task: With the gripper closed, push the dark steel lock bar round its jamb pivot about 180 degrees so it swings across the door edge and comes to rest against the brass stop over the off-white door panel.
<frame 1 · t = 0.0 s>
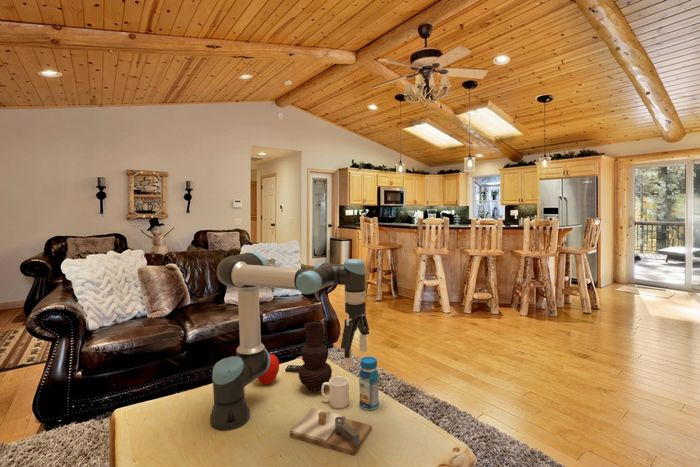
hand: (356, 358, 140), 28 cm above the table, fingers open, 13 cm apart
apple: (267, 382, 181), on the table
door board: (331, 432, 141), on the table
lock bar: (346, 431, 135), point 4 cm above the table, hinge at 0.0°
beverage bottle: (369, 405, 160), on the table
vase: (315, 388, 175), on the table
cup: (335, 403, 162), on the table
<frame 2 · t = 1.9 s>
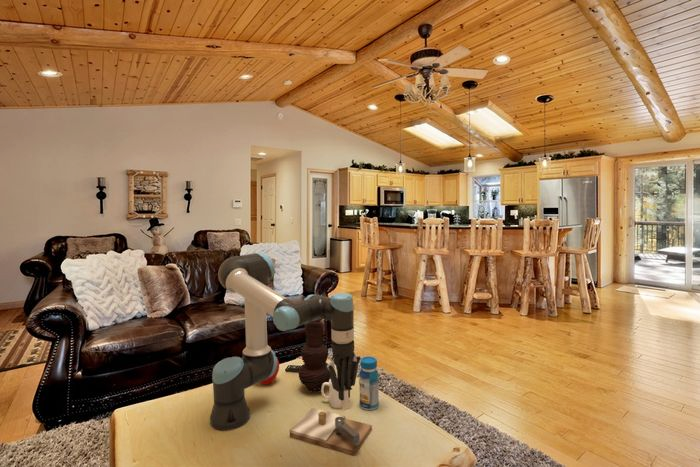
hand: (344, 407, 129), 16 cm above the table, fingers closed
nothing on the table moved.
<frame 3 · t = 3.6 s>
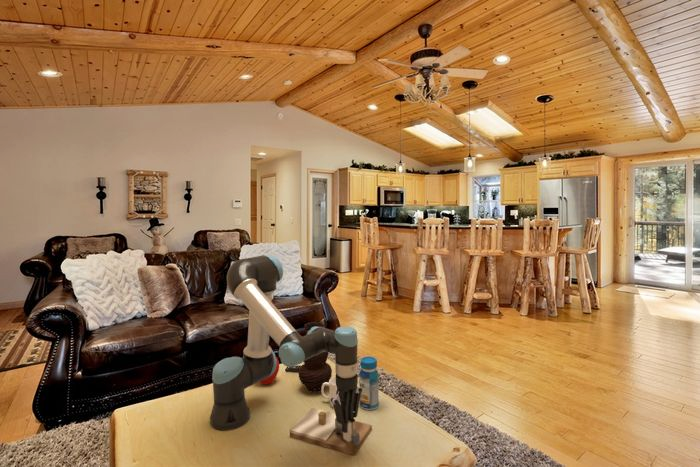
hand: (347, 439, 131), 4 cm above the table, fingers closed
lock bar: (346, 431, 135), point 4 cm above the table, hinge at 0.1°, touching gripper
everything else where it was.
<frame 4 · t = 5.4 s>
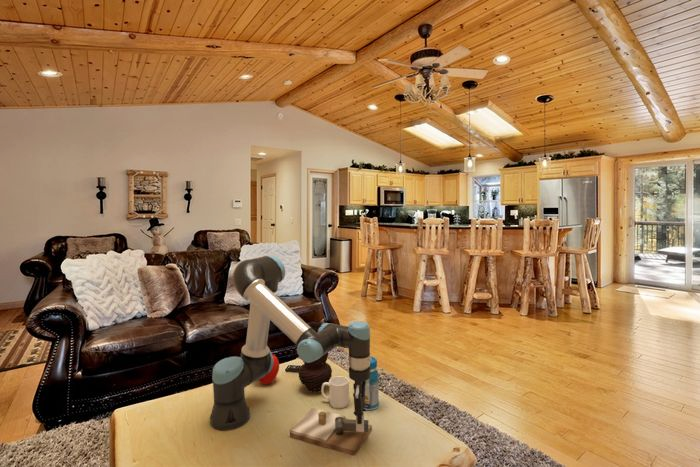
hand: (360, 430, 136), 4 cm above the table, fingers closed
lock bar: (351, 426, 138), point 4 cm above the table, hinge at 49.1°, touching gripper
everything else where it was.
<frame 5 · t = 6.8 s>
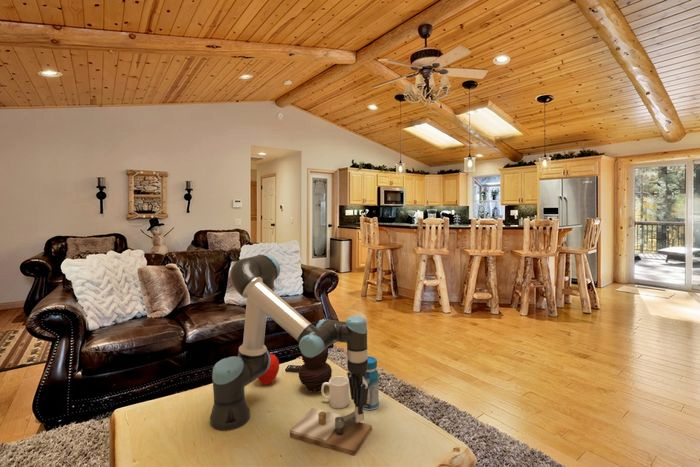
hand: (359, 420, 142), 4 cm above the table, fingers closed
lock bar: (349, 421, 141), point 4 cm above the table, hinge at 92.9°, touching gripper
everything else where it was.
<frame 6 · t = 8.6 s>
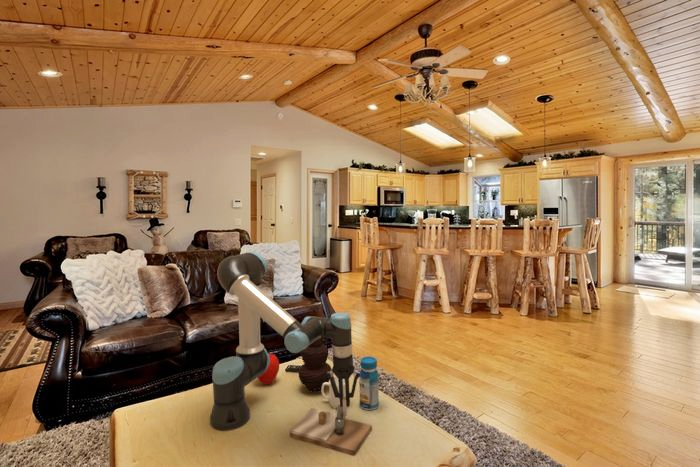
hand: (345, 414, 145), 5 cm above the table, fingers closed
lock bar: (340, 418, 143), point 4 cm above the table, hinge at 143.0°, touching gripper
everything else where it was.
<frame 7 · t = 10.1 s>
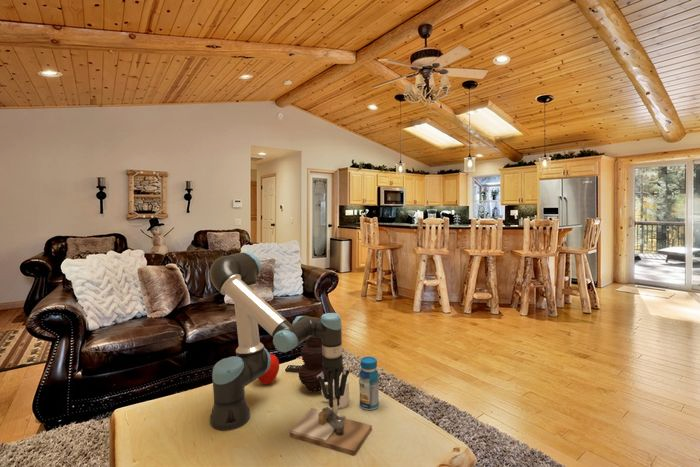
hand: (334, 414, 146), 4 cm above the table, fingers closed
lock bar: (333, 420, 142), point 4 cm above the table, hinge at 178.3°
everything else where it was.
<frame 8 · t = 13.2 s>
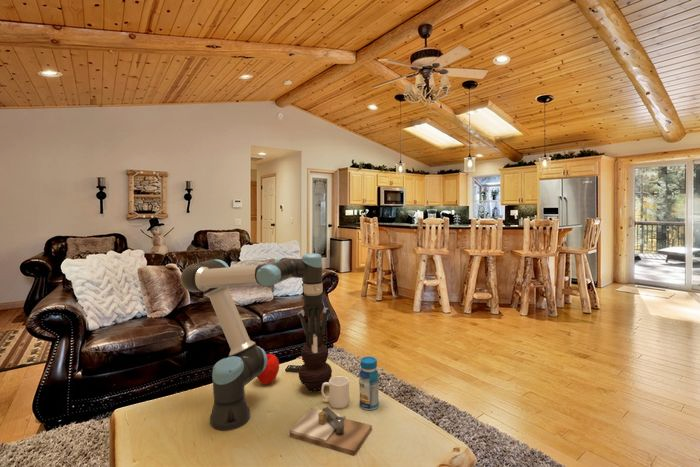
hand: (314, 351, 151), 26 cm above the table, fingers closed
nothing on the table moved.
at the end: lock bar at +178° (first picture: +0°) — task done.
